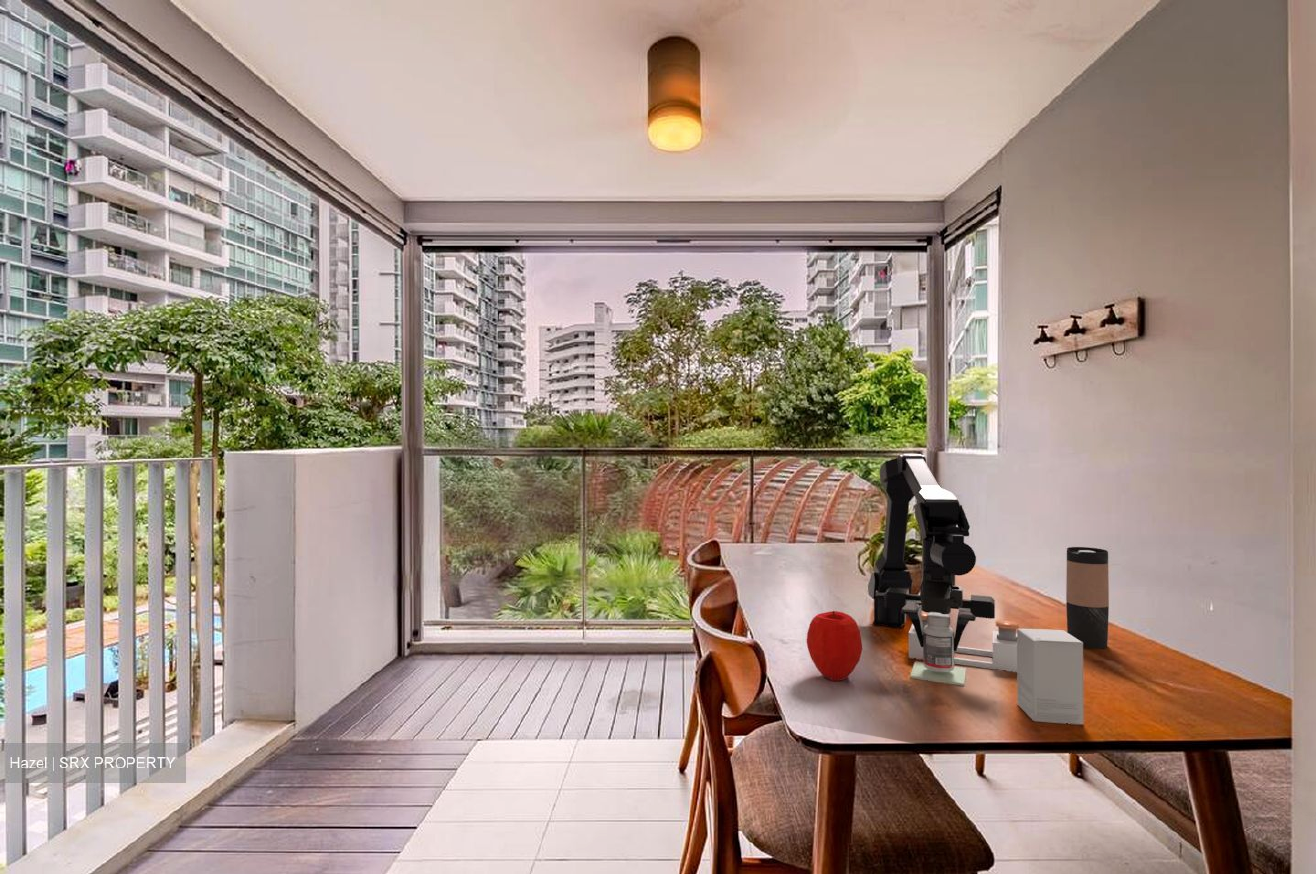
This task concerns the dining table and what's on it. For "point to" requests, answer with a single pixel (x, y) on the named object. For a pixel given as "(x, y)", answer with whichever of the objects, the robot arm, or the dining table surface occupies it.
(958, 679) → the mat
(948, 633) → the pill bottle
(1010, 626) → the plunger right
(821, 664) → the apple
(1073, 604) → the travel mug
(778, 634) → the dining table surface
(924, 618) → the plunger left
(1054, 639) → the supplement box
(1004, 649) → the holder
